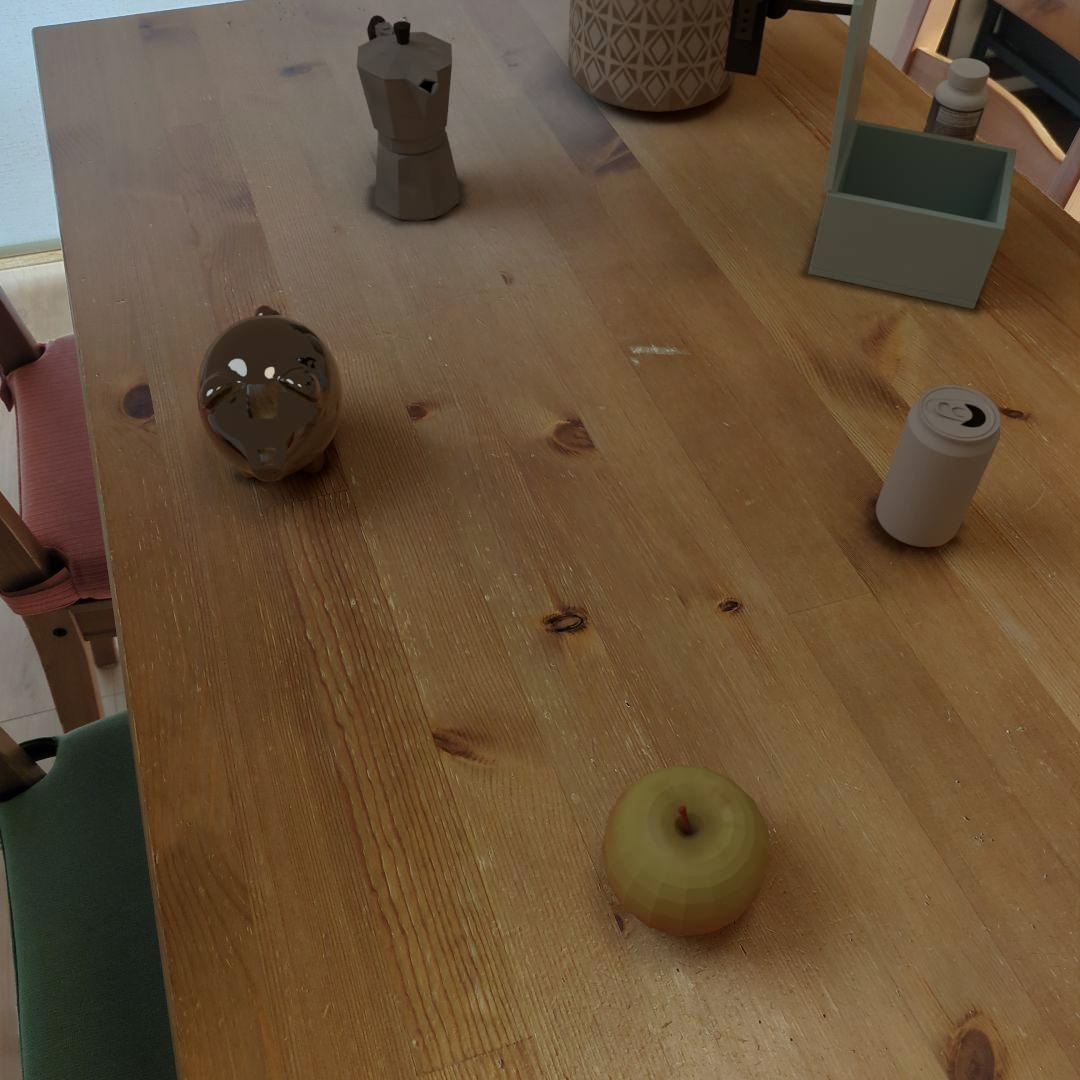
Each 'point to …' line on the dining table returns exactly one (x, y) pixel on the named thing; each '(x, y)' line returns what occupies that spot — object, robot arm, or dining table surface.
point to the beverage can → (938, 465)
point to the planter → (650, 51)
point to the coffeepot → (409, 119)
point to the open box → (915, 213)
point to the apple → (685, 850)
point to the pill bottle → (959, 100)
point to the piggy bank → (270, 395)
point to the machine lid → (851, 70)
